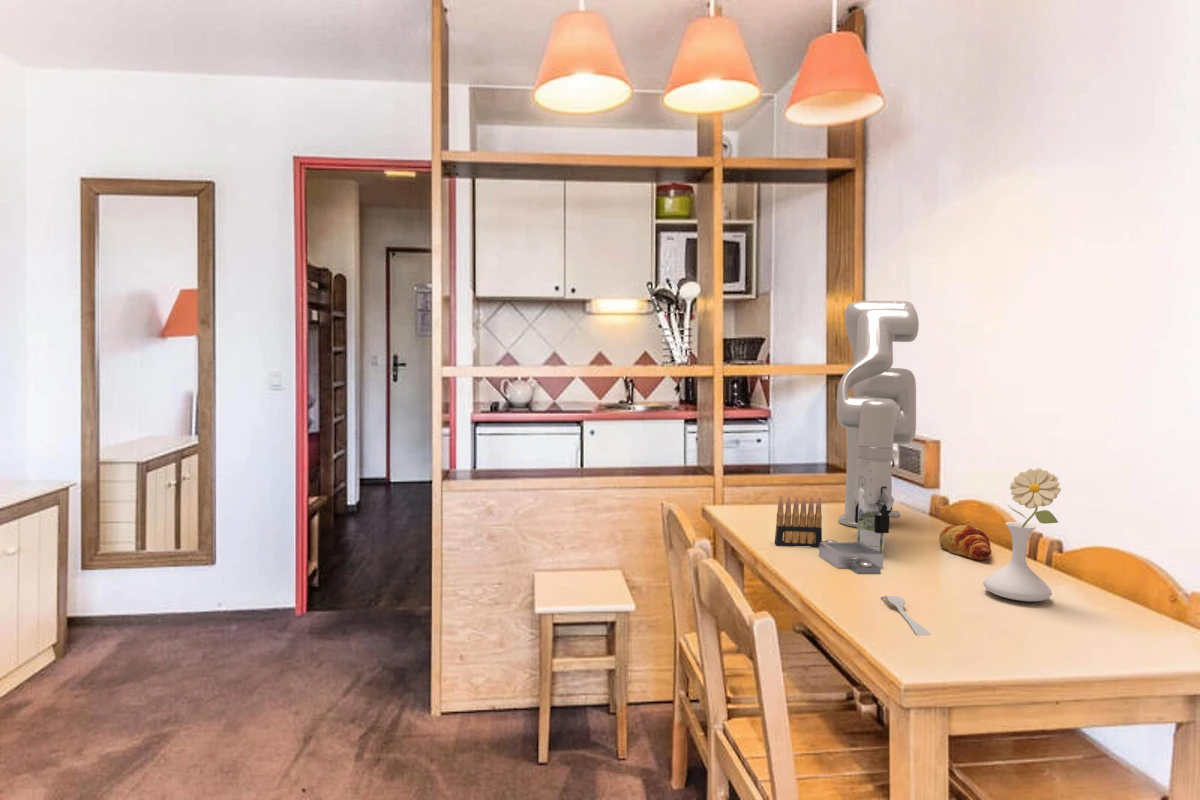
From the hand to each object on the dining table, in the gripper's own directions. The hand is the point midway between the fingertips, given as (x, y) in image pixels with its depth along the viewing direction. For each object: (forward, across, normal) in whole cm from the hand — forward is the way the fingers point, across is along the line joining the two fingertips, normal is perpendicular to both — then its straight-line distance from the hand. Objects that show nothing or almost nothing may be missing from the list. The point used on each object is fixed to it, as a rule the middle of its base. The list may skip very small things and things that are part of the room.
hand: (871, 527), depth 172 cm
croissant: (+6, +1, +23) cm, 24 cm away
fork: (+6, +43, -14) cm, 45 cm away
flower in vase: (+6, +34, +13) cm, 37 cm away
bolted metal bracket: (+5, +7, -9) cm, 13 cm away
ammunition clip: (+6, -5, -16) cm, 17 cm away
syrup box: (+6, 0, 0) cm, 6 cm away
